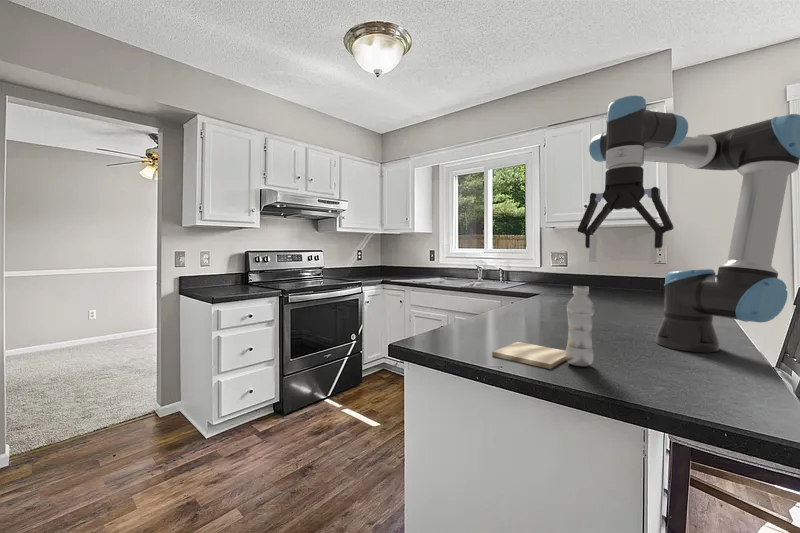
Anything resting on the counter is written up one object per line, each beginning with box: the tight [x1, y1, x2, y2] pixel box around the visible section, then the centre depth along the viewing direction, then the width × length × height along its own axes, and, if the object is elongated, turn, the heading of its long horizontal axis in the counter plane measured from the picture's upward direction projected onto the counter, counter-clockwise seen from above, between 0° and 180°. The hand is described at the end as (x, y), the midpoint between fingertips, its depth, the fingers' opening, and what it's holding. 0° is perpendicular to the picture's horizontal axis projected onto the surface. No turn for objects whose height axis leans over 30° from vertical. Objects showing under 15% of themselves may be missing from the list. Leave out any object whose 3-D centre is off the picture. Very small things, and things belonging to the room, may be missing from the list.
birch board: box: [491, 341, 567, 370], centre depth 102 cm, size 16×15×1 cm
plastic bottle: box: [565, 285, 596, 367], centre depth 93 cm, size 6×7×20 cm
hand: (621, 262), depth 86 cm, fingers open, 12 cm apart
